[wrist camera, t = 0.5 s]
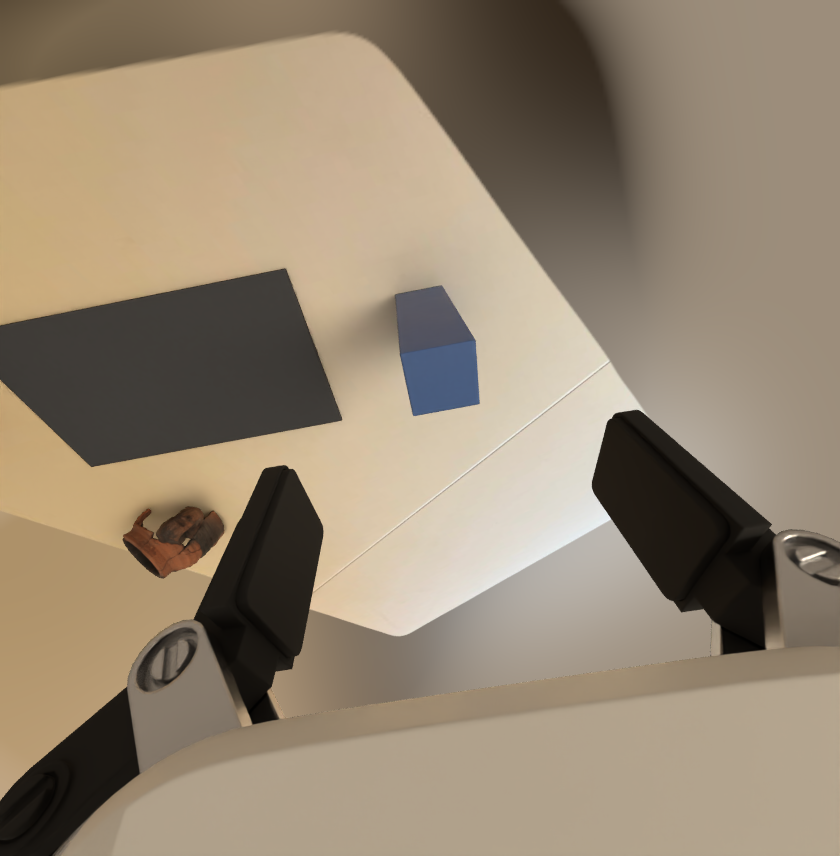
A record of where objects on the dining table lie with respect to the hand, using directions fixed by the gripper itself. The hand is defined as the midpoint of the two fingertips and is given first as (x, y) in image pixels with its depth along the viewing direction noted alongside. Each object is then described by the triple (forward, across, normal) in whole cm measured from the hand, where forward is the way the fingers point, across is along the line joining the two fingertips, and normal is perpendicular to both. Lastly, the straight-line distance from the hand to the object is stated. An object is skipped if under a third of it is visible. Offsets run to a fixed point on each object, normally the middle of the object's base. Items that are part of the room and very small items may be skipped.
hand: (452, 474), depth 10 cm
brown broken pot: (+24, +35, +24) cm, 49 cm away
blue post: (+24, -1, +2) cm, 25 cm away
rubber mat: (+24, +25, +5) cm, 35 cm away
